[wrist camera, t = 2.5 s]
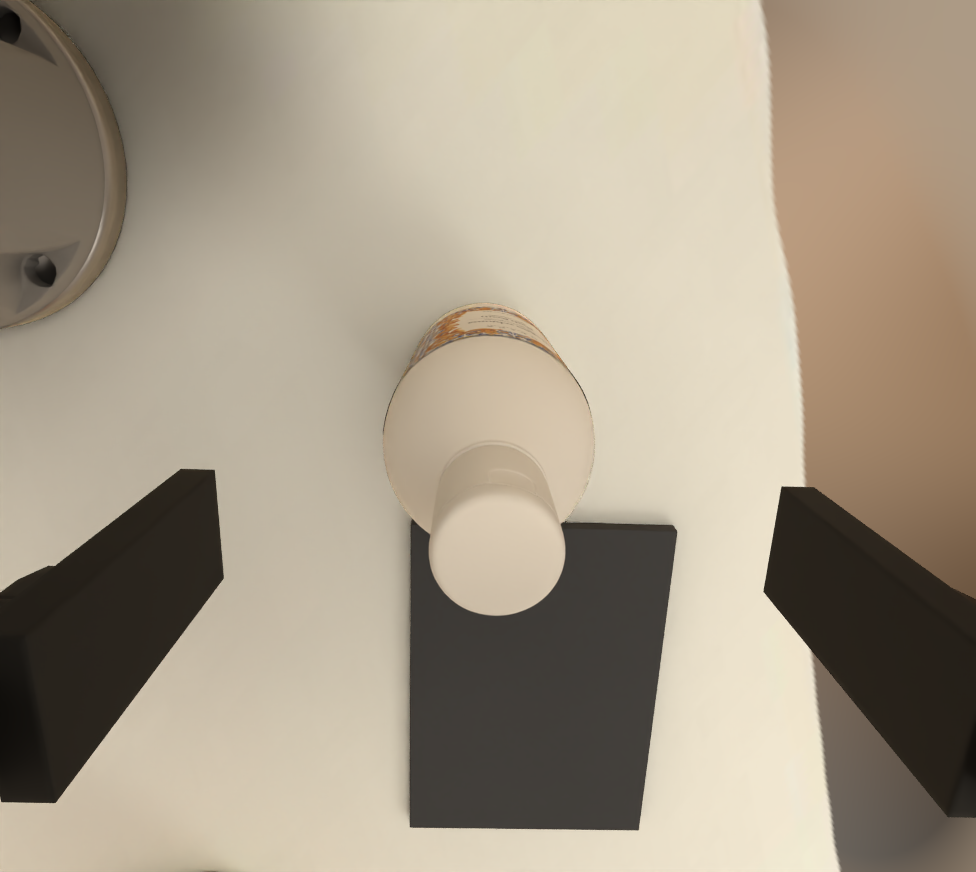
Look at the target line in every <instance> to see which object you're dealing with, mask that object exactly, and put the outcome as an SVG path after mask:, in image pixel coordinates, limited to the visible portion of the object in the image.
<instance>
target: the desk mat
mask: <svg viewBox="0 0 976 872" xmlns="http://www.w3.org/2000/svg"><path fill="white" fill-rule="evenodd" d="M561 528H562V531H563V535H564V540H565V562H564V566H563V570H562V572H561V575H560V577H559V579H558V581H557V583H556V584H555V586H554V587H553V589H552V590H551V591H550V592H549V594H548V595H547V596H546V597H544V598H543V599H542V600H541V601H540V602H538V603H537V604H535V605H534V606H532V607H530V608H528V609H526V610H523V611H521V612H518V613H514V614H509V615H500V616H493V615H484V614H479V613H475V612H472V611H470V610H467V609H465V608H463V607H461V606H459V605H458V604H456V603H455V602H454V601H452V600H451V599H450V598H449V597H448V596H447V595H446V594H445V593H444V592H443V591H442V589H441V588H440V586H439V585H438V583H437V582H436V580H435V578H434V575H433V573H432V570H431V566H430V561H429V541H430V534H429V533H428V532H426V531H425V530H424V529H423V528H421V527H420V526H419V525H418V524H417V523H416V522H415V521H414V520H413V519H412V523H411V647H410V827H413V828H495V829H577V830H639V823H640V816H641V808H642V800H643V792H644V785H645V777H646V769H647V762H648V754H649V746H650V738H651V731H652V723H653V715H654V707H655V700H656V692H657V684H658V677H659V669H660V661H661V653H662V646H663V638H664V630H665V623H666V615H667V607H668V599H669V592H670V584H671V576H672V569H673V561H674V553H675V545H676V538H677V530H676V529H675V528H674V526H672V525H634V524H596V523H561Z"/></svg>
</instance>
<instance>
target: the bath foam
mask: <svg viewBox="0 0 976 872" xmlns="http://www.w3.org/2000/svg"><path fill="white" fill-rule="evenodd" d="M594 449H595V438H594V427H593V421H592V416H591V412H590V408H589V405H588V402H587V399H586V397H585V394H584V392H583V390H582V389H581V387H580V385H579V383H578V382H577V380H576V379H575V377H574V376H573V375H572V373H571V372H570V371H569V369H568V368H567V366H566V365H565V364H564V362H563V361H562V360H561V358H560V357H559V355H558V354H557V353H556V351H555V350H554V348H553V347H552V346H551V344H550V343H549V342H548V340H547V339H546V337H545V336H544V335H543V334H542V332H541V331H540V330H539V329H538V328H537V327H536V325H535V324H534V323H532V322H531V321H530V320H529V319H528V318H527V317H525V316H524V315H522V314H521V313H519V312H517V311H515V310H513V309H511V308H508V307H505V306H502V305H498V304H491V303H476V304H470V305H465V306H462V307H459V308H456V309H454V310H452V311H450V312H448V313H447V314H445V315H443V316H442V317H441V318H439V319H438V320H437V321H436V322H435V323H434V324H433V325H432V326H431V327H430V328H429V329H428V330H427V332H426V333H425V334H424V336H423V338H422V339H421V341H420V343H419V344H418V346H417V348H416V350H415V352H414V354H413V356H412V358H411V360H410V362H409V364H408V366H407V368H406V370H405V372H404V374H403V376H402V378H401V380H400V382H399V384H398V385H397V387H396V389H395V391H394V394H393V396H392V398H391V401H390V404H389V407H388V410H387V413H386V417H385V422H384V429H383V453H384V461H385V466H386V470H387V474H388V477H389V480H390V483H391V486H392V488H393V490H394V492H395V494H396V496H397V498H398V500H399V502H400V503H401V505H402V506H403V508H404V509H405V510H406V512H407V513H408V514H409V515H410V516H411V518H412V519H413V520H414V521H415V522H416V523H417V524H418V525H419V526H420V527H421V528H423V529H424V530H425V531H426V532H428V533H429V534H430V541H429V561H430V566H431V570H432V573H433V575H434V578H435V580H436V582H437V583H438V585H439V586H440V588H441V589H442V591H443V592H444V593H445V594H446V595H447V596H448V597H449V598H450V599H451V600H452V601H454V602H455V603H456V604H458V605H459V606H461V607H463V608H465V609H467V610H470V611H472V612H475V613H479V614H484V615H493V616H500V615H509V614H514V613H518V612H521V611H523V610H526V609H528V608H530V607H532V606H534V605H535V604H537V603H538V602H540V601H541V600H542V599H543V598H544V597H546V596H547V595H548V594H549V592H550V591H551V590H552V589H553V587H554V586H555V584H556V583H557V581H558V579H559V577H560V575H561V572H562V570H563V566H564V562H565V540H564V535H563V531H562V528H561V523H562V522H563V521H564V520H565V519H566V518H567V517H568V516H569V515H570V514H571V512H572V511H573V510H574V508H575V507H576V505H577V503H578V502H579V500H580V499H581V497H582V495H583V493H584V491H585V489H586V486H587V484H588V481H589V478H590V474H591V470H592V466H593V460H594Z"/></svg>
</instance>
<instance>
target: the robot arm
mask: <svg viewBox="0 0 976 872" xmlns="http://www.w3.org/2000/svg"><path fill="white" fill-rule="evenodd" d="M126 192H127V176H126V162H125V156H124V150H123V144H122V140H121V136H120V132H119V128H118V125H117V122H116V119H115V116H114V113H113V110H112V108H111V105H110V103H109V101H108V99H107V96H106V94H105V92H104V90H103V88H102V86H101V84H100V82H99V81H98V79H97V77H96V75H95V73H94V72H93V70H92V69H91V67H90V66H89V64H88V62H87V61H86V59H85V58H84V56H83V55H82V54H81V52H80V51H79V50H78V49H77V47H76V46H75V45H74V43H73V42H72V41H71V40H70V38H69V37H68V36H67V35H66V34H65V33H64V32H63V31H62V30H61V29H60V27H59V26H58V25H57V24H56V23H55V22H54V21H52V20H51V19H50V18H49V17H48V16H47V15H46V14H45V13H44V12H43V11H42V10H40V9H39V8H38V7H37V6H35V5H34V4H33V3H32V2H30V1H29V0H0V329H3V328H8V327H13V326H18V325H22V324H27V323H30V322H33V321H36V320H39V319H42V318H45V317H47V316H49V315H51V314H53V313H55V312H57V311H59V310H60V309H62V308H64V307H65V306H67V305H69V304H70V303H71V302H73V301H74V300H75V299H76V298H78V297H79V296H80V295H81V294H82V293H83V292H84V291H85V290H86V289H87V288H88V287H89V286H90V285H91V284H92V283H93V282H94V280H95V279H96V278H97V277H98V275H99V274H100V273H101V271H102V270H103V268H104V267H105V265H106V263H107V262H108V260H109V258H110V256H111V254H112V252H113V250H114V248H115V245H116V242H117V240H118V237H119V234H120V231H121V227H122V222H123V218H124V213H125V205H126ZM223 579H224V575H223V563H222V551H221V539H220V527H219V515H218V503H217V491H216V479H215V470H198V469H180V470H179V471H178V472H176V473H175V474H174V475H172V476H171V477H170V478H169V479H167V480H166V481H165V482H163V483H162V484H161V485H159V486H158V487H157V488H156V489H154V490H153V491H152V492H150V493H149V494H148V495H146V496H145V497H144V498H143V499H141V500H140V501H139V502H137V503H136V504H135V505H134V506H132V507H131V508H130V509H128V510H127V511H126V512H124V513H123V514H122V515H121V516H119V517H118V518H117V519H115V520H114V521H113V522H111V523H110V524H109V525H108V526H106V527H105V528H104V529H102V530H101V531H100V532H98V533H97V534H96V535H95V536H93V537H92V538H91V539H89V540H88V541H87V542H86V543H84V544H83V545H82V546H80V547H79V548H78V549H76V550H75V551H74V552H73V553H71V554H70V555H69V556H67V557H66V558H65V559H63V560H62V561H61V562H60V563H58V564H57V565H56V566H47V567H45V568H43V569H40V570H38V571H36V572H34V573H31V574H29V575H27V576H25V577H23V578H20V579H18V580H17V581H15V582H14V583H13V584H11V585H10V586H9V587H7V588H6V589H5V590H3V591H2V592H0V798H1V802H24V803H56V802H57V800H58V799H59V798H60V796H61V795H62V794H63V792H64V791H65V790H66V788H67V787H68V786H69V784H70V783H71V782H72V780H73V779H74V778H75V776H76V775H77V774H78V772H79V771H80V770H81V768H82V767H83V766H84V764H85V763H86V762H87V760H88V759H89V758H90V756H91V755H92V754H93V752H94V751H95V750H96V748H97V747H98V746H99V744H100V743H101V742H102V740H103V739H104V738H105V736H106V735H107V734H108V732H109V731H110V730H111V728H112V727H113V726H114V724H115V723H116V722H117V720H118V719H119V718H120V716H121V715H122V714H123V712H124V711H125V710H126V708H127V707H128V706H129V704H130V703H131V702H132V700H133V699H134V698H135V696H136V695H137V694H138V692H139V691H140V690H141V688H142V687H143V686H144V684H145V683H146V682H147V680H148V679H149V678H150V676H151V675H152V674H153V672H154V671H155V670H156V668H157V667H158V666H159V664H160V663H161V662H162V660H163V659H164V657H165V656H166V655H167V653H168V652H169V651H170V649H171V648H172V647H173V645H174V644H175V643H176V641H177V640H178V639H179V637H180V636H181V635H182V633H183V632H184V631H185V629H186V628H187V627H188V625H189V624H190V623H191V621H192V620H193V619H194V617H195V616H196V615H197V613H198V612H199V611H200V609H201V608H202V607H203V605H204V604H205V603H206V601H207V600H208V599H209V597H210V596H211V595H212V593H213V592H214V591H215V589H216V588H217V587H218V585H219V584H220V583H221V581H222V580H223ZM763 592H764V593H765V594H766V595H767V597H768V598H769V599H770V600H771V602H772V603H773V604H774V605H775V606H776V608H777V609H778V610H779V611H780V613H781V614H782V615H783V616H784V617H785V619H786V620H787V621H788V622H789V624H790V625H791V626H792V627H793V628H794V630H795V631H796V632H797V633H798V635H799V636H800V637H801V638H802V639H803V641H804V642H805V643H806V644H807V646H808V647H809V648H810V649H811V650H812V652H813V653H814V654H815V655H816V657H817V658H818V659H819V660H820V661H821V663H822V664H823V665H824V666H825V668H826V669H827V670H828V671H829V672H830V674H831V675H832V676H833V677H834V679H835V680H836V681H837V682H838V683H839V685H840V686H841V687H842V688H843V690H844V691H845V692H846V693H847V694H848V696H849V697H850V698H851V699H852V701H854V703H855V704H856V705H857V707H858V708H859V709H860V710H861V712H862V713H863V714H864V715H865V716H866V718H867V719H868V720H869V721H870V723H871V724H872V725H873V726H874V727H875V729H876V730H877V731H878V732H879V733H880V734H881V736H882V737H883V738H884V739H885V741H886V742H887V743H888V744H889V746H890V747H891V748H892V749H893V751H894V752H895V753H896V754H897V755H898V757H899V758H900V759H901V760H902V762H903V763H904V764H905V765H906V766H907V768H908V769H909V770H910V771H911V773H912V774H913V775H914V776H915V777H916V779H917V780H918V781H919V782H920V783H921V785H922V786H923V787H924V788H925V790H926V791H927V792H928V793H929V795H930V796H931V797H932V798H933V799H934V801H935V802H936V803H937V804H938V806H939V807H940V808H941V809H942V810H943V811H944V813H945V814H946V815H947V817H972V818H976V599H974V598H972V597H970V596H968V595H966V594H964V593H961V592H959V591H957V590H955V589H953V588H951V587H950V586H948V585H947V584H946V583H944V582H943V581H941V580H940V579H939V578H937V577H936V576H934V575H933V574H932V573H930V572H929V571H928V570H926V569H925V568H923V567H922V566H921V565H919V564H918V563H916V562H915V561H914V560H913V559H911V558H910V557H908V556H907V555H906V554H904V553H903V552H902V551H900V550H899V549H898V548H896V547H895V546H893V545H892V544H891V543H889V542H888V541H886V540H885V539H884V538H882V537H881V536H880V535H878V534H877V533H876V532H874V531H873V530H871V529H870V528H869V527H867V526H866V525H865V524H863V523H862V522H861V521H859V520H858V519H856V518H855V517H854V516H852V515H851V514H850V513H848V512H847V511H845V510H844V509H843V508H841V507H840V506H839V505H837V504H836V503H835V502H833V501H832V500H830V499H829V498H828V497H826V496H825V495H823V494H822V493H821V492H819V491H818V490H817V489H815V488H814V487H781V493H780V499H779V505H778V510H777V516H776V522H775V528H774V534H773V539H772V545H771V551H770V557H769V563H768V568H767V574H766V580H765V586H764V591H763Z"/></svg>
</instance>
